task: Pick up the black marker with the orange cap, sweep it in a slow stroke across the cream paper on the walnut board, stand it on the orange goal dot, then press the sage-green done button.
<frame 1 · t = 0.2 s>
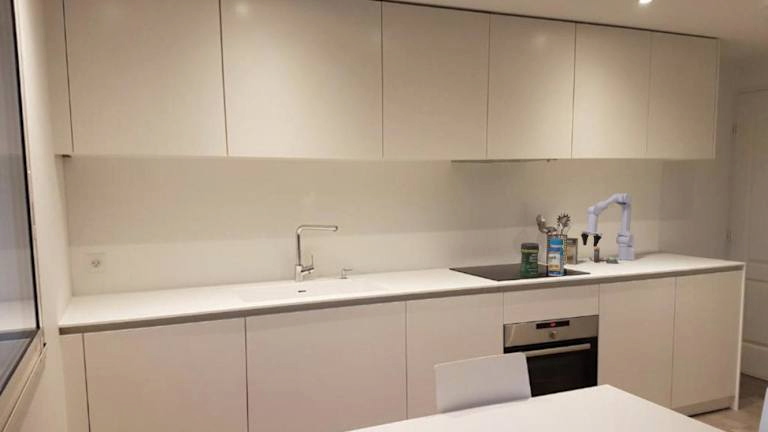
hand: (589, 246, 333), 10 cm above the countertop, tool pointing down, fingers open, 7 cm apart
coffee box: (569, 263, 330), on the countertop
coffee jar: (529, 276, 286), on the countertop
board: (599, 259, 343), on the countertop
blue labeled canister: (555, 275, 290), on the countertop
button: (611, 259, 331), point 2 cm above the countertop, slide at 0.0 cm
button housing: (611, 262, 331), on the countertop
marker: (596, 262, 334), on the countertop
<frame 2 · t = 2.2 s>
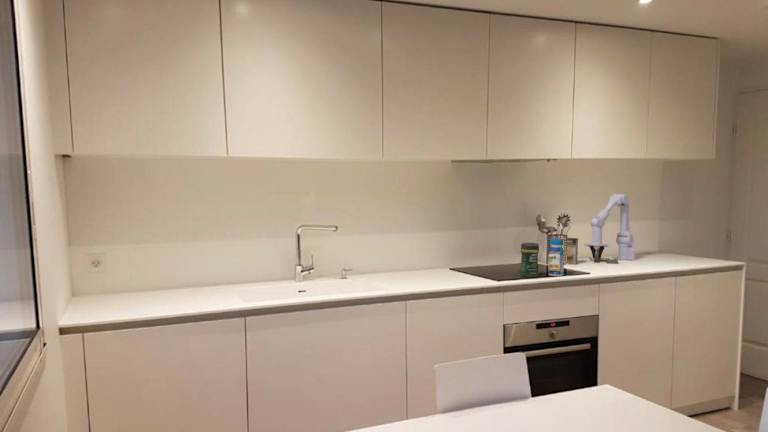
hand: (596, 258, 334), 3 cm above the countertop, tool pointing down, fingers closed on marker, 3 cm apart
marker: (596, 262, 334), on the countertop, touching gripper
everything else where it was.
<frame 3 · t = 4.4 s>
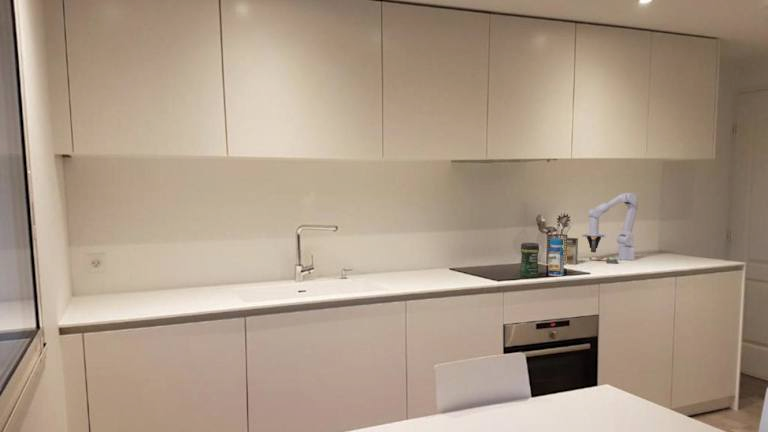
hand: (593, 248, 344), 8 cm above the countertop, tool pointing down, fingers closed on marker, 3 cm apart
marker: (593, 252, 344), point 5 cm above the countertop, touching gripper
everything else where it was.
when the fingers open (4 cm above the countertop, at t = 7.0 s): marker stays where it is, resting on board.
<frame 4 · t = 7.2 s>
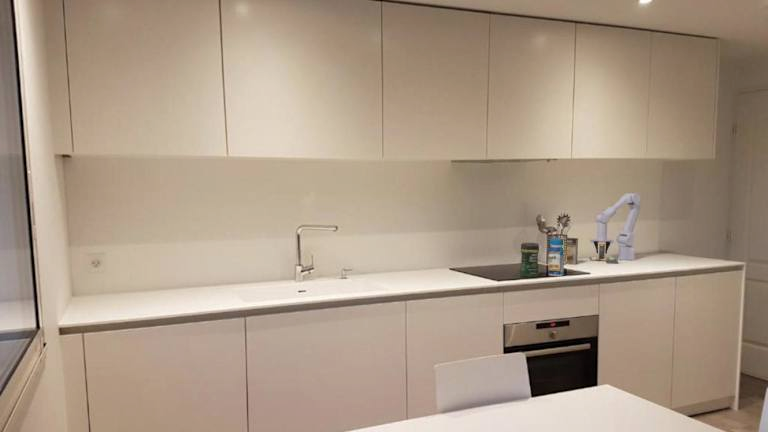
hand: (601, 253, 343), 4 cm above the countertop, tool pointing down, fingers open, 5 cm apart
marker: (601, 258, 343), point 1 cm above the countertop, touching board
everything else where it was.
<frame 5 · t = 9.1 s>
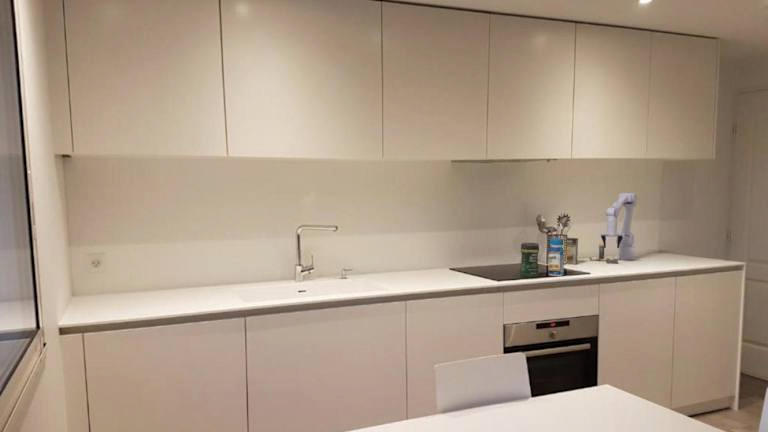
hand: (611, 247, 331), 9 cm above the countertop, tool pointing down, fingers open, 7 cm apart
nothing on the countertop moved.
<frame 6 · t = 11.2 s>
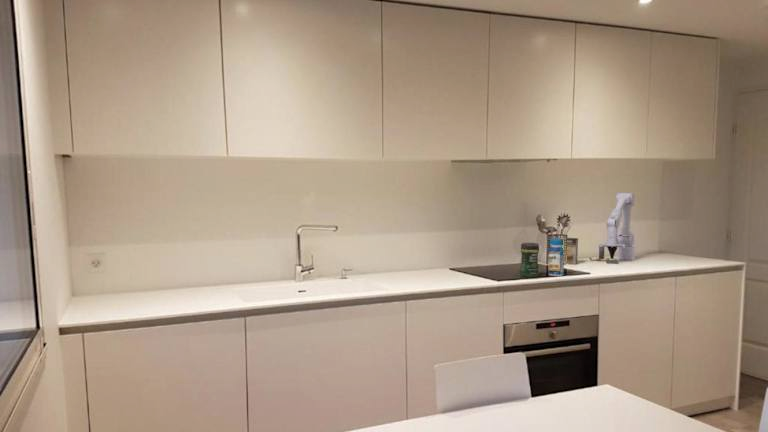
hand: (611, 258, 331), 3 cm above the countertop, tool pointing down, fingers closed, pressing on button
button: (611, 260, 331), point 2 cm above the countertop, slide at 0.5 cm, touching gripper
everything else where it was.
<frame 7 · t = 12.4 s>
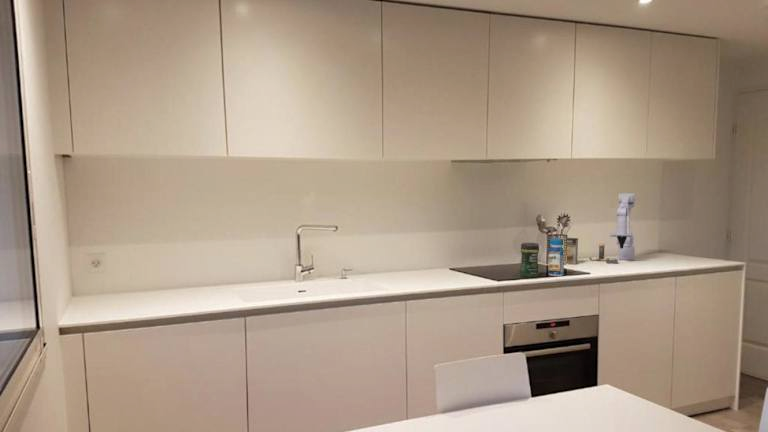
hand: (621, 248, 330), 9 cm above the countertop, tool pointing down, fingers closed
button: (611, 260, 331), point 2 cm above the countertop, slide at 0.5 cm
everything else where it was.
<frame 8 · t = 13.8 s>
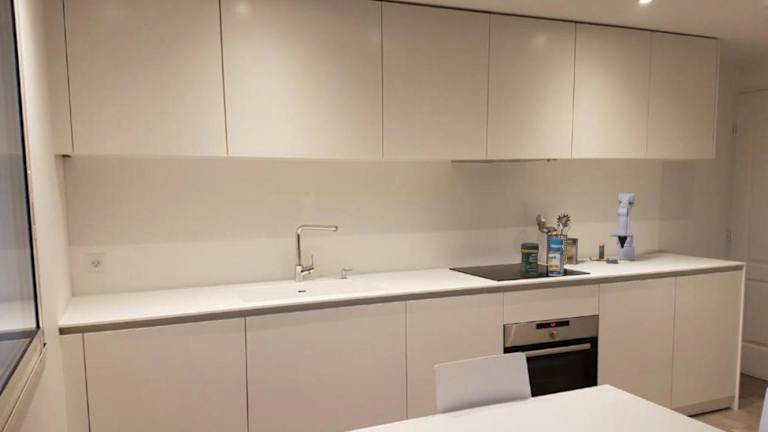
hand: (622, 248, 330), 9 cm above the countertop, tool pointing down, fingers closed
nothing on the countertop moved.
at the end: marker 0.0 cm from the target spot on the board, point 1.0 cm above the board's base; marker tilted 0°; button slide at 0.5 cm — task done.
